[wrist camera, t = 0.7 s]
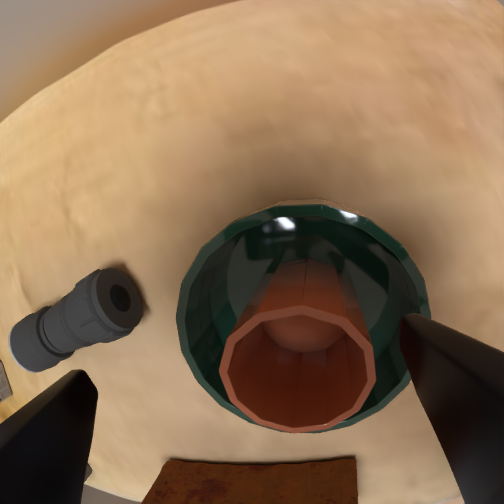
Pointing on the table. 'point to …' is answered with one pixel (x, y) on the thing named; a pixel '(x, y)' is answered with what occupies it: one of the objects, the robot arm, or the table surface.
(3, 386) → the coffee box
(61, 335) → the flashlight
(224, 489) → the brick
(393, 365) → the planter
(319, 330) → the small pot
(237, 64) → the table surface
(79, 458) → the robot arm
